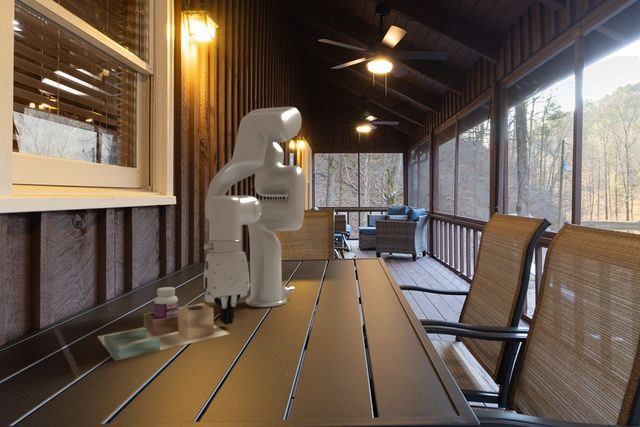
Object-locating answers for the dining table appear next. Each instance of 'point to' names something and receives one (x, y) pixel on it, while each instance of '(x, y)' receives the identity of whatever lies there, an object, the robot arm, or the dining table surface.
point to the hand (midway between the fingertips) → (226, 322)
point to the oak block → (195, 321)
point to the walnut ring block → (160, 324)
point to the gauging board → (146, 342)
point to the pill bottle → (165, 303)
